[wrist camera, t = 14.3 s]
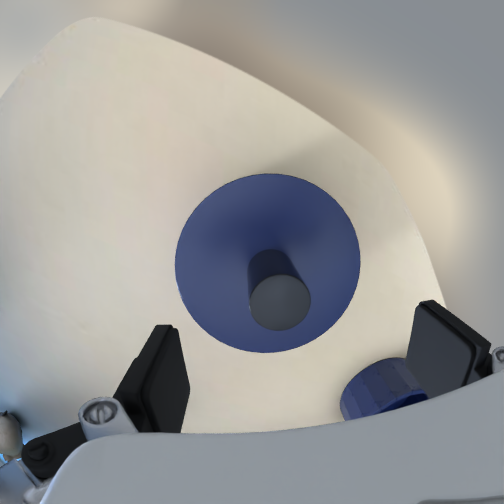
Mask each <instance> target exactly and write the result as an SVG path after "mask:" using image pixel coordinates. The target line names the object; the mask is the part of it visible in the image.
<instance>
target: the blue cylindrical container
mask: <svg viewBox="0 0 504 504" xmlns="http://www.w3.org/2000/svg"><path fill="white" fill-rule="evenodd" d="M405 361H406V359H402V358H389V359H385V360H381V361H379V362H376V363H374V364H372V365H370V366H368V367H367V368H365V369H364V370H362V371H361V372H360V373H359V374H357V375H356V376H355V377H354V378H353V379H352V380H351V381H350V382H349V384H348V385H347V386H346V388H345V390H344V391H343V394H342V396H341V400H340V409H341V412H342V415H343V417H344V420H345V421H348V420H353V419H358V418H363V417H367V416H372V415H376V414H380V413H384V412H388V411H392V410H395V409H399V408H402V407H406V406H409V405H413V404H416V403H419V402H422V401H425V400H428V399H429V397H428V396H427V395H426V393H425V392H424V391H423V389H422V388H421V387H420V385H419V384H418V383H417V381H416V380H415V379H414V377H413V376H412V375H411V373H410V372H409V371H408V370H407V368H406V364H405Z"/></svg>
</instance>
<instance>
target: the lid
mask: <svg viewBox="0 0 504 504" xmlns="http://www.w3.org/2000/svg"><path fill="white" fill-rule="evenodd" d="M359 273H360V249H359V243H358V239H357V236H356V233H355V230H354V227H353V225H352V223H351V221H350V219H349V217H348V216H347V214H346V213H345V211H344V210H343V208H342V207H341V206H340V205H339V204H338V203H337V202H336V200H335V199H333V198H332V197H331V196H330V195H329V194H328V193H327V192H325V191H324V190H322V189H321V188H319V187H317V186H316V185H314V184H312V183H310V182H308V181H305V180H303V179H300V178H297V177H293V176H289V175H282V174H258V175H251V176H247V177H243V178H240V179H237V180H234V181H232V182H230V183H227V184H225V185H224V186H222V187H220V188H219V189H217V190H215V191H214V192H213V193H211V194H210V195H209V196H208V197H206V198H205V199H204V200H203V201H202V202H201V203H200V204H199V205H198V206H197V207H196V209H195V210H194V211H193V213H192V214H191V216H190V217H189V218H188V220H187V222H186V224H185V226H184V228H183V230H182V232H181V235H180V238H179V241H178V245H177V249H176V255H175V275H176V282H177V286H178V290H179V293H180V296H181V298H182V301H183V303H184V305H185V307H186V308H187V310H188V312H189V313H190V315H191V316H192V317H193V319H194V320H195V321H196V322H197V323H198V324H199V325H200V327H201V328H202V329H204V330H205V331H206V332H207V333H208V334H210V335H211V336H212V337H214V338H216V339H217V340H219V341H220V342H223V343H225V344H227V345H229V346H231V347H234V348H237V349H240V350H245V351H250V352H258V353H274V352H281V351H286V350H290V349H294V348H297V347H300V346H302V345H305V344H307V343H309V342H311V341H312V340H314V339H316V338H318V337H319V336H320V335H322V334H323V333H325V332H326V331H327V330H328V329H329V328H330V327H332V326H333V325H334V324H335V323H336V321H337V320H338V319H339V318H340V317H341V316H342V314H343V313H344V311H345V310H346V308H347V307H348V305H349V303H350V301H351V299H352V297H353V295H354V292H355V290H356V287H357V283H358V279H359Z"/></svg>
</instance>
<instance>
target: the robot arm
mask: <svg viewBox="0 0 504 504" xmlns="http://www.w3.org/2000/svg"><path fill="white" fill-rule="evenodd" d="M490 347H491V343H490V342H489V341H487V340H486V339H485V338H484V337H482V336H481V335H480V334H478V333H477V332H476V331H475V330H473V329H472V328H471V327H469V326H468V325H467V324H465V323H464V322H463V321H461V320H460V319H459V318H457V317H456V316H455V315H453V314H452V313H451V312H449V311H448V310H447V309H445V308H444V307H443V306H441V305H440V304H438V303H437V302H436V301H434V300H428V301H422V302H420V303H419V305H418V306H417V307H416V309H415V314H414V321H413V326H412V332H411V337H410V342H409V347H408V352H407V356H406V361H405V364H406V368H407V370H408V371H409V372H410V373H411V375H412V376H413V377H414V379H415V380H416V381H417V383H418V384H419V385H420V387H421V388H422V389H423V391H424V392H425V393H426V395H427V396H428V397H429V399H428V400H425V401H422V402H419V403H416V404H413V405H409V406H406V407H402V408H399V409H395V410H392V411H388V412H384V413H380V414H376V415H372V416H367V417H363V418H358V419H353V420H348V421H343V422H337V423H332V424H326V425H319V426H312V427H305V428H297V429H288V430H278V431H266V432H250V433H180V432H181V428H182V424H183V420H184V415H185V411H186V407H187V403H188V399H189V394H190V384H189V380H188V375H187V371H186V366H185V362H184V357H183V352H182V348H181V343H180V338H179V332H178V329H177V328H173V326H172V325H156V326H155V328H154V330H153V331H152V333H151V335H150V337H149V338H148V340H147V342H146V343H145V345H144V347H143V349H142V350H141V352H140V354H139V356H138V357H137V358H135V359H134V360H133V362H132V364H131V366H130V367H129V369H128V371H127V373H126V374H125V376H124V378H123V380H122V381H121V383H120V385H119V387H118V389H117V390H116V392H115V394H114V396H113V398H110V397H98V398H94V399H92V400H89V401H87V402H86V403H85V404H84V405H83V406H82V407H81V408H80V410H79V413H78V416H79V421H80V422H78V423H76V424H73V425H71V426H68V427H65V428H63V429H60V430H57V431H55V432H52V433H49V434H46V435H43V436H40V437H38V438H35V439H33V440H31V441H29V442H28V443H27V444H26V445H25V446H24V448H23V449H22V453H21V458H22V459H21V460H19V461H17V460H16V458H14V459H13V460H11V461H9V462H8V463H6V464H5V465H3V466H1V467H0V504H504V347H498V348H496V349H494V350H493V352H492V355H491V354H490V353H489V350H490Z"/></svg>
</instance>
